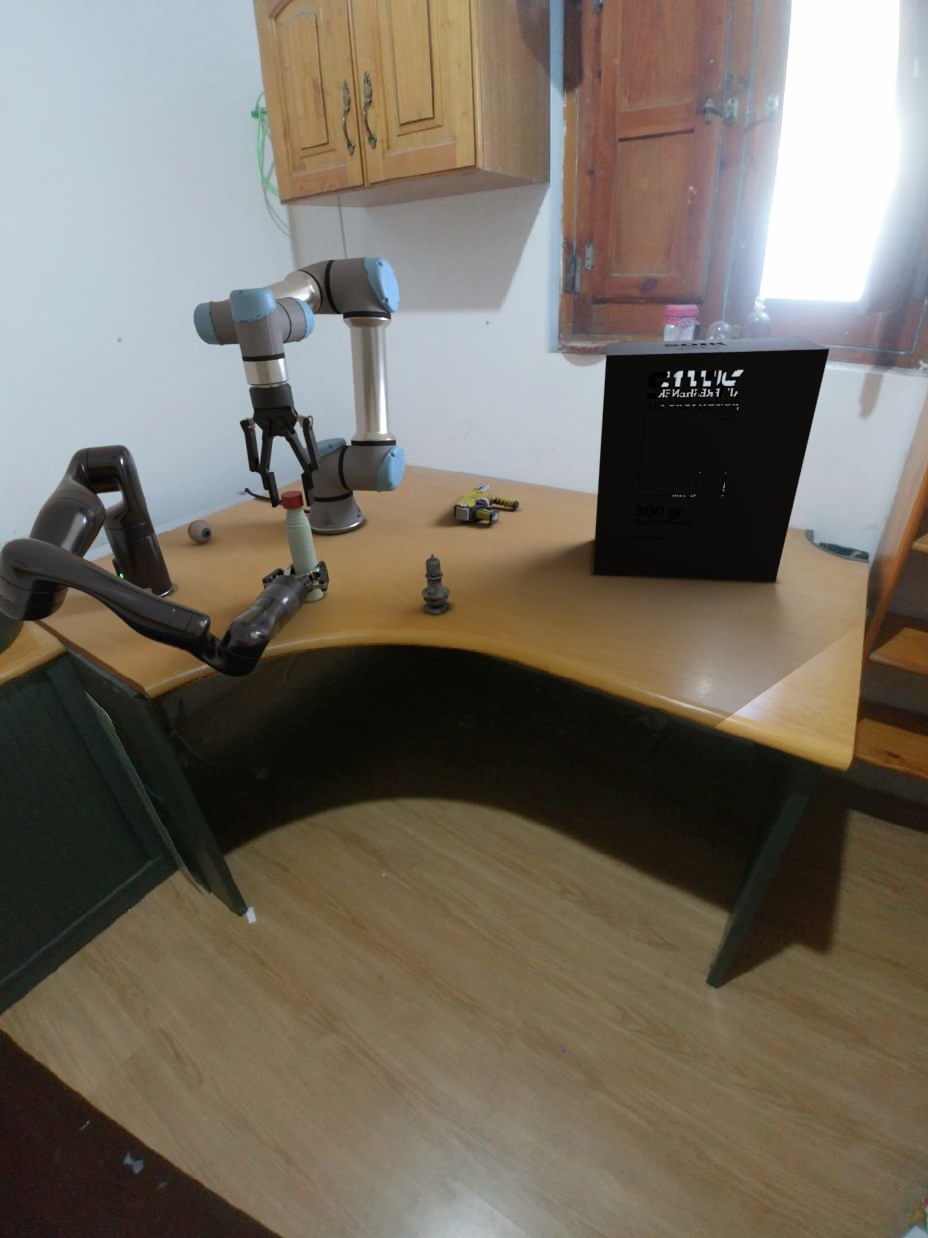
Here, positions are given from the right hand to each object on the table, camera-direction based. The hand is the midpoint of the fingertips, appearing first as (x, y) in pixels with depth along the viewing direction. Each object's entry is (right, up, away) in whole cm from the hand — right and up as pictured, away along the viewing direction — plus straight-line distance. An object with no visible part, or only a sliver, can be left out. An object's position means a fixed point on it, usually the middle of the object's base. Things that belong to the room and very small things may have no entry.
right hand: (293, 504), depth 122 cm
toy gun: (+42, +8, +51) cm, 67 cm away
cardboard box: (+84, -9, +17) cm, 86 cm away
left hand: (+1, -11, +9) cm, 15 cm away
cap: (0, +2, -1) cm, 2 cm away
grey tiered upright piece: (+29, -21, +3) cm, 36 cm away
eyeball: (-36, -2, +42) cm, 55 cm away
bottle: (+1, -18, +10) cm, 21 cm away
